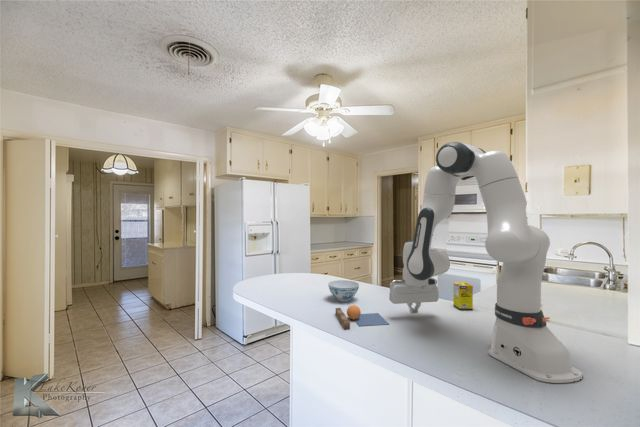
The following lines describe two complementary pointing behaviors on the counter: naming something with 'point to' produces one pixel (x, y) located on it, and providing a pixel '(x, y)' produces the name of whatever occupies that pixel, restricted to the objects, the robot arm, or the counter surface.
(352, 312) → the ball
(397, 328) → the counter surface
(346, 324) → the bar
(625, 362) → the counter surface
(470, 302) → the supplement box
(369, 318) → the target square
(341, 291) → the chinaware
